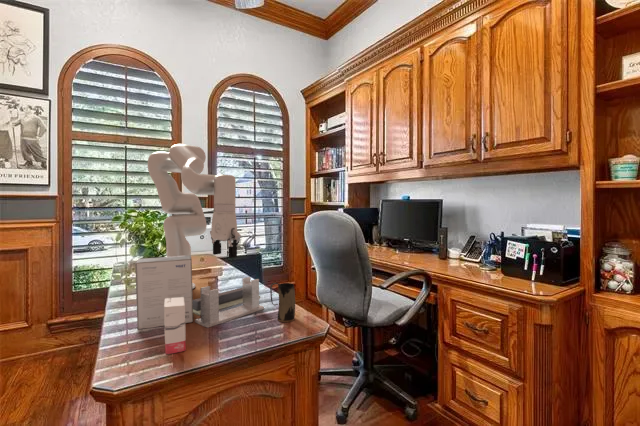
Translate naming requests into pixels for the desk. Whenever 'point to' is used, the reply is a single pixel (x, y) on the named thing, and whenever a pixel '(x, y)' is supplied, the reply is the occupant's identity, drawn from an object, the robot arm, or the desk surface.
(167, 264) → the hard drive box
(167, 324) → the ink box
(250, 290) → the rack
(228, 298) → the rail
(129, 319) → the desk surface
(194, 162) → the robot arm
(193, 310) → the mat
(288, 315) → the mug
